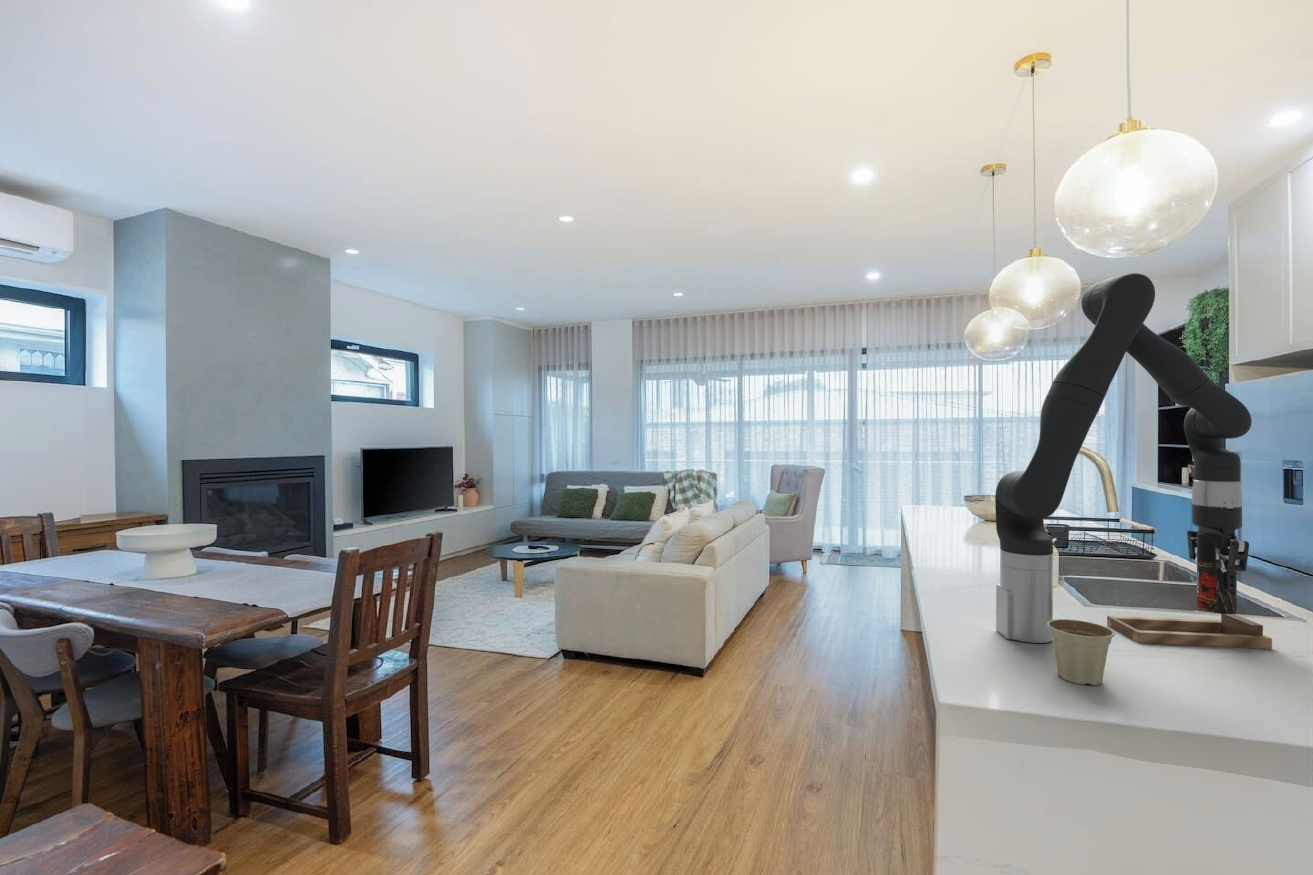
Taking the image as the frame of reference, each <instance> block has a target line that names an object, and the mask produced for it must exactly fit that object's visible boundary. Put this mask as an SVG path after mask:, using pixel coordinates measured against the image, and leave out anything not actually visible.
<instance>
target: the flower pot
mask: <svg viewBox="0 0 1313 875" xmlns="http://www.w3.org/2000/svg"><path fill="white" fill-rule="evenodd" d="M1047 626H1048V627H1049V628H1050V633H1051V635H1052V636H1053V640H1052V641H1053V648H1054V654H1055V662H1056V668H1057V675H1059V676H1060V677H1061V679H1062V680H1065V681H1067V682H1070V683H1074V684H1076V685H1083V686H1084V685H1087V684H1089V685H1091V686H1097V685H1098V686H1099V685H1101V684H1102V683H1103V682H1104V681H1103V680H1104V673H1105V668H1106V661H1107V656H1108V651H1109V646H1110V645H1111V644H1112V638H1114V637H1115V635H1116V633H1115V630H1114V629H1112V628H1111V627H1107V626H1105V625H1101V624H1098V623H1095V622H1091V621H1084V620H1079V619H1078V620H1077V619H1069V618H1068V619H1067V618H1064V619H1063V618H1061V619H1060V618H1058V619H1053V620H1051V621H1049V622H1048V623H1047Z"/></svg>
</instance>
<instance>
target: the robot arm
mask: <svg viewBox="0 0 1313 875" xmlns="http://www.w3.org/2000/svg"><path fill="white" fill-rule="evenodd" d="M1155 299H1156V287H1155V284H1154V283H1153V281H1152V280H1151V279H1150V278H1149V277H1148V276H1146V275H1145V274H1141V273H1138V272H1131V273H1125V274H1122V275H1118V276H1117V275H1116V276H1114V277H1111V278H1107V279H1104V280H1101V281H1098V282H1096V283H1095V284H1094V283H1093V284H1092V285H1090V286H1089V287H1088V288H1087V289H1086V290H1085V292H1083V295H1082V298H1081V310H1082V312H1083V314H1084V315H1085V318H1086V319H1087V320H1088V321H1090V322H1091V323H1092V324H1093V325H1094V328H1093V329H1092V332H1091V333H1090V335H1089V337H1088V338H1087V340H1085V342H1084V343H1083V344H1082V346H1081V347H1080V348H1079V349H1078V350H1077V351H1076V352H1075V353H1074V354H1073V355H1072V356H1071V357H1070V359H1069V360H1067V362H1066V363H1065V364H1064V365H1063V366H1062V367H1061V369H1060V370H1059V371H1058V373H1057V374H1056V375H1055V377H1054V379H1053V381H1052V383H1051V385H1050V386H1049V390H1048V392H1047V395H1046V396H1045V398H1044V400H1043V403H1042V406H1041V410H1040V420H1039V438H1038V444H1037V446H1036V450H1035V451H1034V454H1033V456H1032V457H1031V460H1030V461H1029V463H1028V465H1027V467H1026V469H1025V470H1024V471H1023V470H1016V471H1010V472H1009V473H1006V474H1005V475H1004V476H1002V477H1001V479H999V481H998V483H997V486H996V488H995V495H994V496H995V500H994V502H995V503H994V505H995V508H994V510H995V526H996V533H997V536H998V540H999V546H1000V547H999V552H1000V553H999V557H1000V558H999V583H998V584H996V587H995V589H996V590H995V591H996V592H995V597H996V598H995V600H996V601H995V602H996V603H995V606H996V607H995V608H996V610H995V612H996V613H995V615H996V617H995V621H996V623H995V625H996V626H995V629H996V631H997V632H998V633H999V634H1001V635H1002V636H1003V637H1004V638H1005V639H1007V640H1015V641H1019V642H1025V643H1033V644H1045V643H1051V642H1052V641H1053V636H1052V635H1051V633H1050V628H1049V627H1048V626H1047V623H1048V622H1049V621H1051V620H1054V615H1053V614H1054V607H1053V606H1054V600H1053V599H1054V541H1053V539H1052V538H1051V536H1050V535H1049V534H1048V532H1047V531H1046V528H1045V525H1044V520H1045V519H1047V518H1048V517H1050V516H1052V514H1054V513H1055V512H1056V511H1057V509H1058V508H1059V507H1060V505H1061V502H1062V500H1063V497H1064V494H1065V491H1066V488H1067V485H1068V483H1069V482H1068V481H1069V479H1070V476H1071V472H1072V469H1073V467H1074V463H1075V462H1076V459H1077V456H1078V455H1079V452H1080V450H1081V448H1082V446H1083V444H1084V442H1085V440H1086V438H1087V435H1088V433H1089V431H1090V429H1091V426H1092V424H1093V423H1094V421H1095V419H1096V417H1097V415H1098V413H1099V411H1100V408H1101V407H1102V404H1103V402H1104V401H1105V398H1106V396H1107V393H1108V390H1109V388H1110V385H1111V383H1112V381H1113V380H1114V378H1115V376H1116V373H1117V372H1118V369H1119V368H1120V366H1121V363H1122V360H1123V359H1124V356H1125V354H1126V353H1127V354H1128V355H1129V356H1130V357H1131V358H1133V360H1135V361H1136V362H1137V363H1138V364H1139V365H1140V366H1141V367H1142V368H1143V369H1144V370H1145V371H1146V372H1147V373H1148V375H1149V376H1151V378H1152V379H1153V380H1154V381H1155V382H1156V384H1158V386H1159V387H1160V388H1161V389H1162V391H1163V392H1164V393H1165V394H1166V395H1167V396H1168V398H1170V400H1171V401H1172V402H1173V403H1175V404H1176V405H1178V406H1181V407H1185V408H1189V410H1188V411H1187V413H1186V415H1185V417H1184V421H1183V430H1184V434H1185V437H1186V440H1187V444H1188V447H1189V451H1190V453H1191V456H1192V459H1193V483H1192V488H1191V490H1192V491H1191V524H1192V525H1193V526H1195V527H1198V529H1197V530H1187V531H1186V534H1187V547H1188V556H1189V559H1190V560H1194V563H1195V564H1196V565H1197V533H1204V534H1208V535H1212V536H1217V537H1220V549H1221V550H1226V549H1228V550H1229V556H1223V555H1221V554H1220V551H1219V549H1218V548H1217V547H1216V546H1215V553H1216V554H1215V560H1217V561H1219V565H1220V568H1221V571H1222V572H1220V589H1221V590H1222V591H1225V592H1235V591H1236V573H1237V574H1238V573H1240V572H1246V571H1247V566H1248V557H1249V550H1250V549H1249V548H1250V543H1249V541H1247V540H1239V539H1238V537H1237V538H1236V536H1237V535H1236V530H1239V529H1241V528H1243V489H1242V485H1241V484H1242V482H1241V464H1242V463H1241V457H1240V456H1239V454H1238V453H1236V452H1234V451H1230V450H1228V449H1226V448H1225V446H1224V444H1223V440H1222V439H1226V440H1228V439H1230V440H1231V439H1232V440H1233V439H1237V438H1240V437H1244V435H1246V434H1247V433H1248V432H1249V431H1250V429H1251V427H1252V416H1251V413H1250V411H1249V410H1248V407H1246V406H1245V404H1244V403H1243V402H1242V401H1240V400H1239V399H1238V398H1236V397H1235V396H1234V395H1232V394H1231V393H1229V391H1227V390H1225V389H1224V388H1223V387H1221V386H1219V385H1218V384H1216V383H1215V382H1214V381H1212V380H1211V379H1210V378H1209V377H1208V375H1207V373H1205V371H1204V370H1203V369H1202V367H1200V365H1199V364H1198V363H1197V362H1196V360H1194V359H1193V357H1191V356H1190V355H1189V354H1188V353H1186V352H1185V351H1184V350H1183V349H1181V348H1179V347H1178V346H1177V345H1175V344H1173V343H1172V342H1169V341H1168V340H1166V339H1165V338H1163V337H1162V336H1160V335H1159V334H1157V333H1155V332H1154V331H1153V330H1152V329H1150V328H1149V327H1148V326H1147V325H1146V324H1144V323H1145V321H1146V319H1147V318H1148V316H1149V314H1150V313H1151V310H1152V309H1153V307H1154V303H1155ZM1225 560H1228V566H1227V565H1226V562H1225ZM1238 561H1239V564H1238Z"/></svg>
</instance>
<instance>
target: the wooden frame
mask: <svg viewBox="0 0 1313 875" xmlns="http://www.w3.org/2000/svg"><path fill="white" fill-rule="evenodd" d="M1220 619H1221V620H1211V619H1210V620H1208V619H1190V618H1189V619H1188V618H1184V619H1183V618H1165V617H1163V618H1162V617H1160V618H1159V617H1141V616H1140V617H1138V616H1137V617H1136V616H1121V615H1120V616H1119V615H1118V616H1117V615H1107V616H1106V627H1107V626H1108V628H1110V629H1112V630H1113V631H1116V632H1118V633H1120V634H1122V635H1123V636H1125V637H1127V638H1128V639H1130V640H1132V641H1134V642H1135V643H1142V644H1143V643H1144V644H1161V645H1163V644H1164V645H1183V646H1185V645H1186V646H1187V645H1188V646H1202V647H1203V646H1204V647H1222V648H1223V647H1225V648H1245V649H1262V650H1263V649H1265V650H1269V649H1270V650H1273V638H1272V637H1270V636H1267V635H1264V625H1263V624H1261V623H1257V622H1255V621H1253V620H1251V619H1247V618H1245V617H1242V616H1240V615H1238V614H1221V615H1220ZM1162 630H1163V631H1162Z"/></svg>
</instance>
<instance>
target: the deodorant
mask: <svg viewBox="0 0 1313 875" xmlns="http://www.w3.org/2000/svg"><path fill="white" fill-rule="evenodd" d="M1236 538H1237V539H1238V537H1237V535H1236ZM1196 542H1197V547H1196V548H1197V553H1196V554H1197V564H1196V608H1197V609H1199V610H1200V611H1204V612H1206V613H1208V612H1209V613H1212V614H1218V615H1219V614H1235V615H1237V609H1238V606H1237V605H1238V604H1237V600H1238V598H1237V596H1238V595H1237V591H1238V590H1237V588H1238V586H1237V584H1238V583H1237V581H1238V580H1237V579H1238V576H1237V574H1238V573H1236V591H1235V592H1225V591H1222V590H1221V589H1220V572H1222V571H1221V568H1220V565H1219V561H1217V560H1215V554H1216V553H1215V546H1216V547H1217V548H1218V549H1219V551H1220V554H1221V555H1223V556H1229V550H1228V549H1226V550H1221V549H1220V537H1217V536H1212V535H1208V534H1204V533H1197V541H1196ZM1225 562H1226V565H1227V566H1228V560H1225Z"/></svg>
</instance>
